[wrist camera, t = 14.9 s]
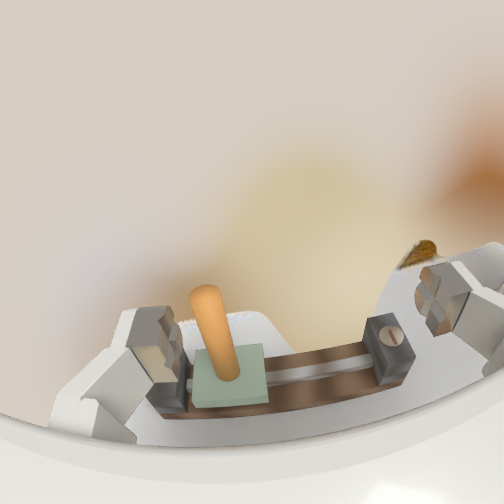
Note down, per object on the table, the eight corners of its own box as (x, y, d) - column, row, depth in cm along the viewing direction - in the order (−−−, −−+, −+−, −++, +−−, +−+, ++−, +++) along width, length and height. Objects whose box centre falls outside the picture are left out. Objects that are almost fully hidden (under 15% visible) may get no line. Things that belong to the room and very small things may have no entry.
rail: (383, 343, 40) (393, 310, 36) (401, 385, 33) (417, 354, 29) (169, 373, 40) (152, 343, 36) (164, 418, 33) (142, 393, 29)
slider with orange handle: (263, 352, 38) (249, 263, 30) (268, 402, 31) (255, 320, 23) (198, 358, 38) (166, 274, 30) (195, 408, 31) (151, 330, 23)
